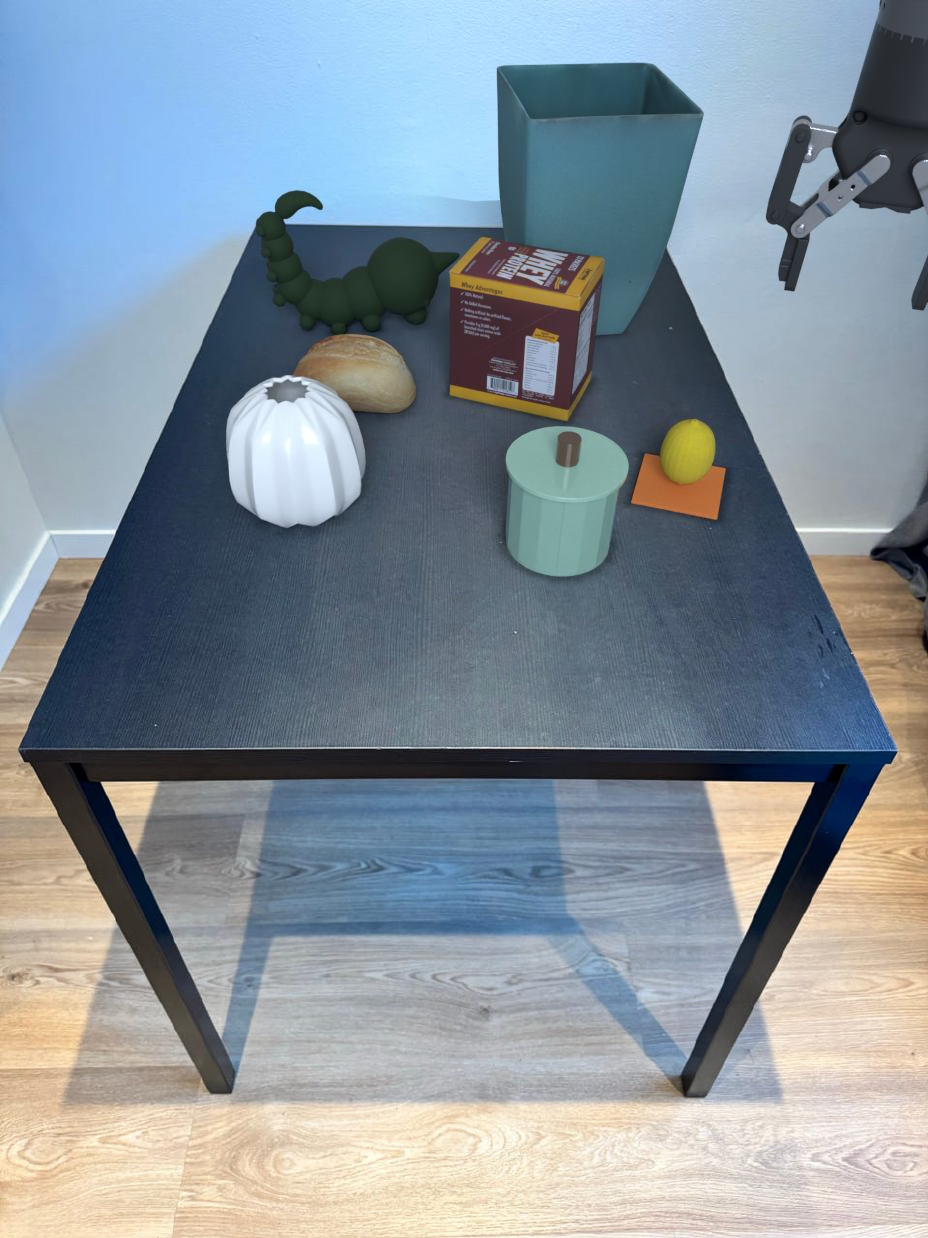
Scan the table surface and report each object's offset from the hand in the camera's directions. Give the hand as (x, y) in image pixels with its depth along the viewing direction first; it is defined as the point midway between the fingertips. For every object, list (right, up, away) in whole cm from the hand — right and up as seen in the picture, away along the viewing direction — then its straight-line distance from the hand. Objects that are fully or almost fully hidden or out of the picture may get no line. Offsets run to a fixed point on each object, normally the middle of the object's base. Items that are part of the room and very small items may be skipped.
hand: (852, 295), depth 61 cm
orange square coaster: (-4, -8, +34) cm, 35 cm away
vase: (-44, -10, +31) cm, 55 cm away
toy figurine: (-40, +17, +58) cm, 73 cm away
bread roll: (-40, +3, +45) cm, 60 cm away
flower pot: (-12, +19, +61) cm, 65 cm away
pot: (-18, -15, +27) cm, 36 cm away
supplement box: (-20, +6, +48) cm, 52 cm away
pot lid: (-18, -8, +21) cm, 28 cm away
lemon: (-4, -8, +34) cm, 35 cm away
